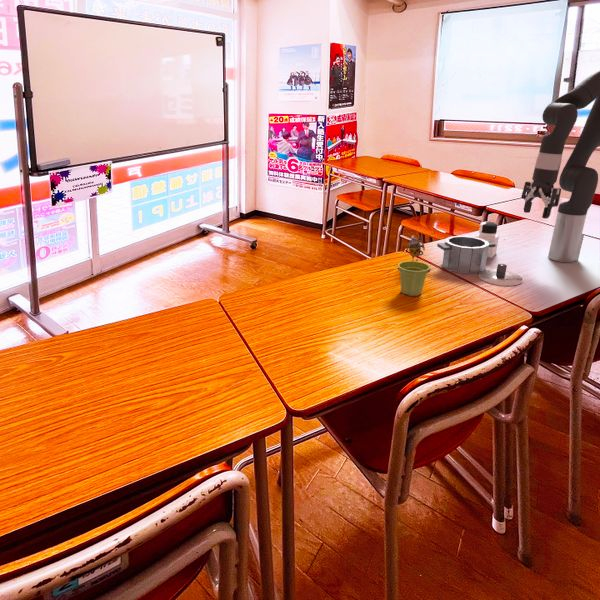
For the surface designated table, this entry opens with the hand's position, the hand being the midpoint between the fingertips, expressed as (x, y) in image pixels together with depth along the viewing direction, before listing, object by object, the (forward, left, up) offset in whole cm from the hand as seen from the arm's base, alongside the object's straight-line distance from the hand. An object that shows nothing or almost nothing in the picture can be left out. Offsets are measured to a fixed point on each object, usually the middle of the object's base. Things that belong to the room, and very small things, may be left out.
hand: (535, 215), depth 174 cm
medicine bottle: (+9, -12, -18) cm, 23 cm away
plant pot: (+52, +17, -18) cm, 57 cm away
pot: (+24, -1, -17) cm, 30 cm away
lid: (+18, +12, -18) cm, 28 cm away
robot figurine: (+42, -2, -18) cm, 46 cm away
